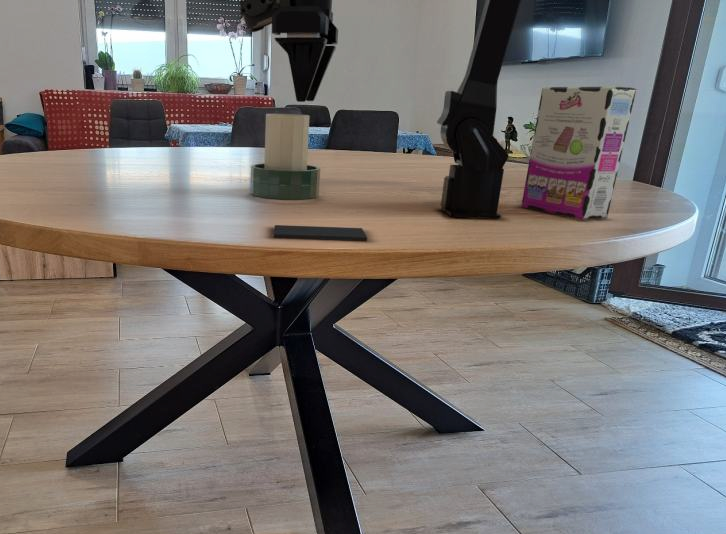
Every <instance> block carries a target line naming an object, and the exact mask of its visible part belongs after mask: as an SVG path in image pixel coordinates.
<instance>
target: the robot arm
mask: <svg viewBox="0 0 726 534" xmlns="http://www.w3.org/2000/svg"><path fill="white" fill-rule="evenodd" d="M521 3H522V0H485V2H484V6H483V8H482V14H481V15H480V20H479V23H478V27H477V31H476V34H475V38H474V42H473V45H472V49H471V53H470V56H469V60H468V64H467V67H466V71H465V74H464V77H463V79H462V81H461V83H460V85H459V87H458V89H457V91H454V90H446V91H445V93H444V99H443V109H442V112H441V115H440V117H439V118H438V119H437V121H436V123H437V125H440V131H439V132H440V138H441V141H442V143H443V144H444V146H445V147H446V148H447V149H449V151H451V152H452V157H453V161H454V163H455V164H450V165H449V171H448V175H445V176H444V177H443V186H442V193H441V201H440V209H441V210H442V211H443V212H445V214H447V215H448V216H450V217H454V218H478V219H480V218H481V219H501V218H502V214H501V213H499V212H498V209H499V202H500V198H501V197H500V196H501V190H502V185H503V177H504V171H505V168H504V166H505V164H506V162H507V160H508V159H509V153H508V152H507V151H506V150H505V148H504V147H503V146H502V144H500V142H499V141H498V140H497V139H496V137H495V136H494V132H495V125H496V124H495V123H496V117H497V108H498V107H497V104H498V83H499V82H498V81H499V78H500V74H501V71H502V68H503V64H504V60H505V58H506V57H505V56H506V53H507V50H508V47H509V43H510V39H511V36H512V33H513V30H514V26H515V23H516V20H517V16H518V14H519V10H520V7H521V6H520V5H521ZM239 7H240V8H239V13H240V15H242V18H243V19H244V23H245V26H246V30H247V31H250V32H251V33H256V32H259V31H262V30H264V29H265V28H266V27H267V26H269V25H271V34H272V35H274V36H281V34H286V37H274V41H275V42H276V43H277V44H278V45H279V46H280V47H281V48H282V50H284V52H285V53H286V54H287V56H288V57H287V58H288V62H289V67H290V72H291V78H292V85H293V88H294V90H293V91H294V95H295V100H296V102H298V103H305V102H314V101H315V99H316V96H317V94H318V92H319V89H320V87H321V84H322V82H323V79H324V77H325V74H326V72H327V70H328V67H329V65H330V63H331V61H332V58H333V55H334V53H335V51H336V49H337V46H336V45H338V42H339V40H338V39H339V28H337V26H336V25H335V24H334V22H333V21H334V12H333V9H332V7H333V0H239Z"/></svg>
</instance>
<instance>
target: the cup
mask: <svg viewBox="0 0 726 534" xmlns="http://www.w3.org/2000/svg"><path fill="white" fill-rule="evenodd" d="M309 133H310V115H309V114H298V113H297V114H296V113H295V114H294V113H293V114H292V113H266V114H265V132H264V134H265V135H264V163H265V165H264V169H270V170H287V171H303V170H307V165H308V154H309V153H308V151H309V136H310V135H309Z"/></svg>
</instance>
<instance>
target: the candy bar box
mask: <svg viewBox="0 0 726 534" xmlns="http://www.w3.org/2000/svg"><path fill="white" fill-rule="evenodd" d="M636 93H637V88H635V87H631V86H630V87H626V86H543V87H542V88H541V94H540V98H539V103H538V104H539V105H538V110H537V116H536V120H535V122H536V123H535V126H534V127H535V128H534V135H533V139H532V143H531V150H530V156H529V159H528V160H529V162H528V166H527V167H528V168H527V171H526V177H525V183H524V189H523V195H522V200H521V205H520V206H521V207H522V208H524V209H529V210H534V211H538V212H543V213H548V214H553V215H557V216H562V217H567V218H571V219H577V220H581V221H590V220H604V219H607V218H608V216H609V212H610V207H611V203H612V199H613V194H614V190H615V185H616V182H617V181H616V180H617V176H618V172H619V167H620V163H621V160H622V154H623V149H624V145H625V141H626V138H627V132H628V130H629V129H628V128H629V124H630V119H631V115H632V111H633V106H634V101H635V97H636Z"/></svg>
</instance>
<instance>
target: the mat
mask: <svg viewBox="0 0 726 534" xmlns="http://www.w3.org/2000/svg"><path fill="white" fill-rule="evenodd" d="M273 230H274V231H273V238H274V239H297V240H298V239H299V240H300V239H301V240H326V241H327V240H328V241H329V240H330V241H353V242H355V241H356V242H357V241H359V242H367V241H368V237H367V235H366V232H365V231H364V229H363V228H362V227H341V226H339V227H338V226H315V225H313V226H312V225H288V224H287V225H286V224H285V225H284V224H275V225H274V229H273Z"/></svg>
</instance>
